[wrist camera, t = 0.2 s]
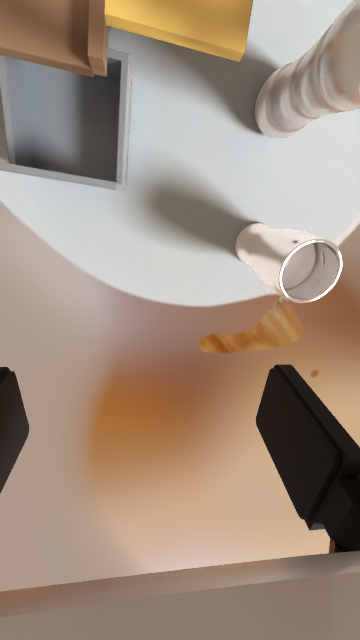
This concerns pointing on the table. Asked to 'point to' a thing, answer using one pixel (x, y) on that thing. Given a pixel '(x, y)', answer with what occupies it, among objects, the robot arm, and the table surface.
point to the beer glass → (290, 260)
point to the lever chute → (123, 13)
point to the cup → (67, 121)
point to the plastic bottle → (314, 80)
